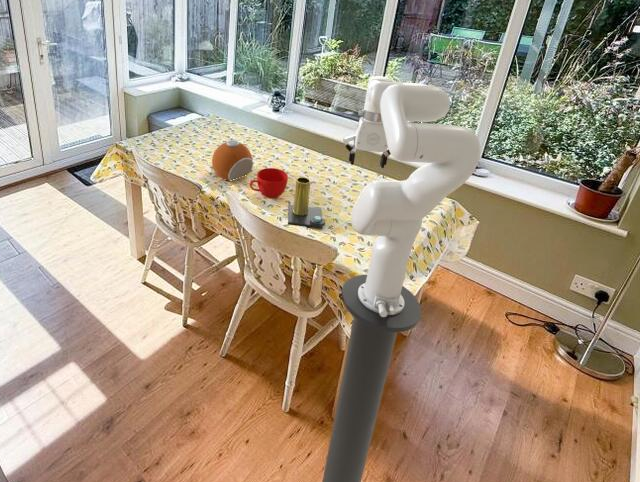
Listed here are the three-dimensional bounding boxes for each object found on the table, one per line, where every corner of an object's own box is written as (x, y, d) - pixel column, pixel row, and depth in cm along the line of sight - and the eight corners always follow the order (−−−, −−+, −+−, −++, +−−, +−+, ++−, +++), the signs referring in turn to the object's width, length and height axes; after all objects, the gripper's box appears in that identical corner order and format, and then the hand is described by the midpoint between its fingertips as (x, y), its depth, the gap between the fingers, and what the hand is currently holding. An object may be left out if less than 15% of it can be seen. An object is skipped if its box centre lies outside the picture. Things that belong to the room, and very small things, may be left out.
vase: (309, 216, 161) (313, 184, 155) (293, 215, 161) (296, 183, 155) (306, 207, 167) (309, 176, 161) (291, 207, 166) (294, 176, 161)
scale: (324, 230, 154) (325, 224, 153) (287, 225, 156) (288, 220, 155) (322, 210, 167) (323, 205, 166) (288, 206, 170) (289, 201, 169)
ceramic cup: (243, 192, 180) (243, 172, 176) (277, 185, 186) (278, 166, 182) (255, 207, 169) (257, 185, 165) (291, 199, 175) (293, 179, 171)
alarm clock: (236, 163, 207) (237, 131, 200) (259, 177, 194) (260, 143, 187) (204, 173, 196) (204, 140, 190) (226, 188, 183) (227, 153, 177)
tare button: (321, 223, 155) (321, 219, 154) (314, 222, 155) (314, 219, 154) (320, 219, 157) (321, 216, 156) (314, 218, 157) (314, 215, 157)
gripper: (348, 116, 129) (341, 166, 135) (406, 121, 126) (396, 172, 132) (346, 110, 136) (339, 158, 142) (401, 114, 133) (391, 163, 139)
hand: (366, 164), depth 137 cm, fingers open, 9 cm apart
